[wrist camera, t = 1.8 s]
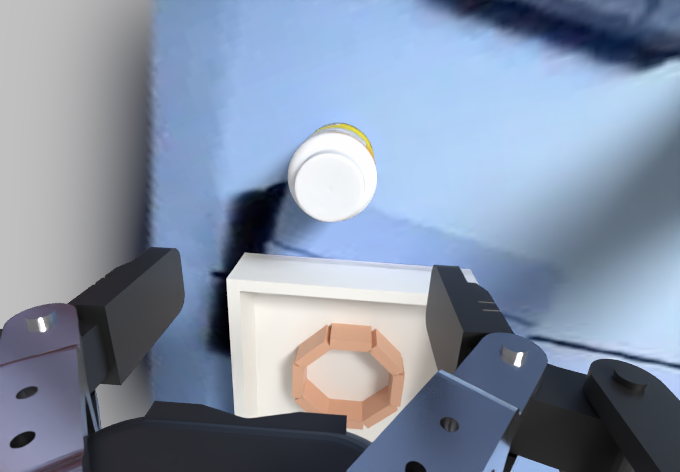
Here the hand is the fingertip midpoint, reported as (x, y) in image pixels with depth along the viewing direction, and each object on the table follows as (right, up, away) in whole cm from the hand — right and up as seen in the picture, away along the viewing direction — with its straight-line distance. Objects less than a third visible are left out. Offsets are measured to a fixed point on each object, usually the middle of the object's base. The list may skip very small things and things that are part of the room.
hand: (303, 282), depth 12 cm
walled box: (+2, -11, +26) cm, 28 cm away
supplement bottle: (+1, +8, +19) cm, 21 cm away
